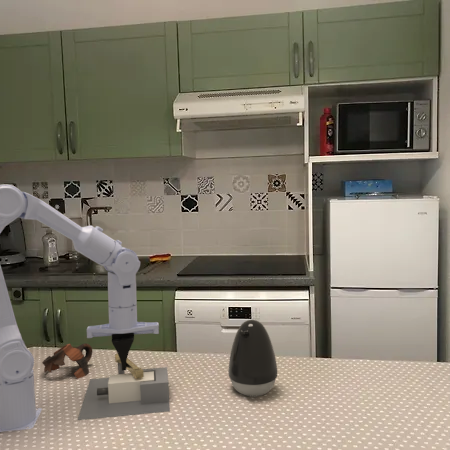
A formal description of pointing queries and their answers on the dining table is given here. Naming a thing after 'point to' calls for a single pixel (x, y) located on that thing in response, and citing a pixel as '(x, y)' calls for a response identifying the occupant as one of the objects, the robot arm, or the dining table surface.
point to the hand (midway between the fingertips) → (124, 368)
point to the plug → (124, 387)
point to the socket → (150, 401)
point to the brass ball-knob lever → (131, 367)
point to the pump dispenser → (252, 360)
